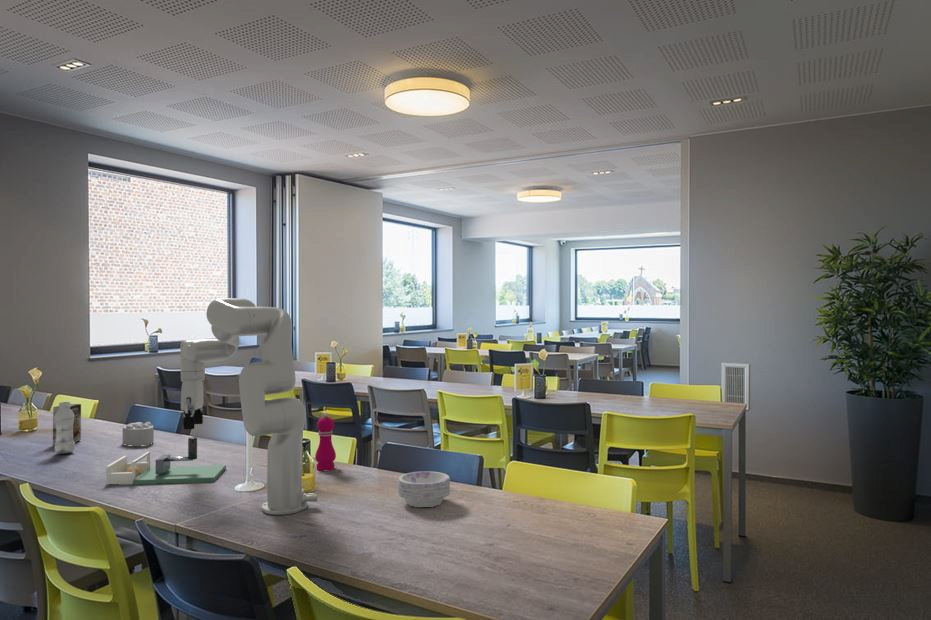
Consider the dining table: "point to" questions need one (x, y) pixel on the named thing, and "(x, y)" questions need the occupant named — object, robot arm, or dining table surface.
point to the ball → (135, 471)
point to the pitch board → (181, 475)
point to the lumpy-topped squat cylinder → (138, 434)
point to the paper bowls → (424, 488)
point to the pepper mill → (325, 444)
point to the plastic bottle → (64, 429)
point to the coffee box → (76, 425)
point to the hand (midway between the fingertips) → (193, 426)
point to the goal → (119, 467)
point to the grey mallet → (164, 460)
